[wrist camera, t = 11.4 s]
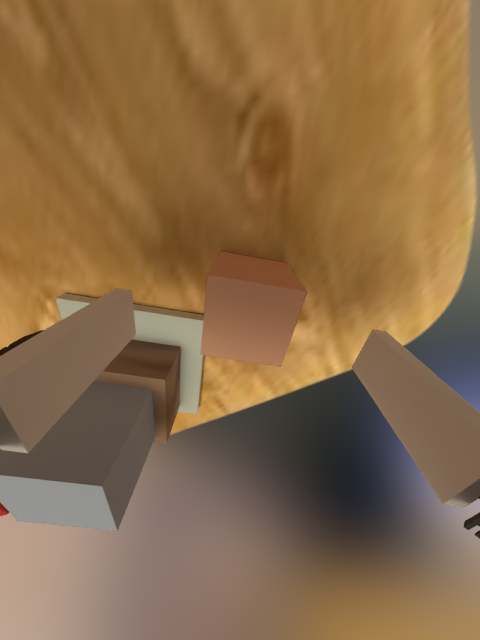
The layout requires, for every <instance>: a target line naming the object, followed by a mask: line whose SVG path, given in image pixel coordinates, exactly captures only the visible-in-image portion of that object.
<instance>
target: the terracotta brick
mask: <svg viewBox="0 0 480 640" xmlns="http://www.w3.org/2000/svg"><path fill="white" fill-rule="evenodd" d="M306 294H307V291H306V289H305V288H304V286H303V285H302V284H301V282H300V281H299V279H298V278H297V277H296V275H295V274H294V272H293V271H292V270H291V268H290V267H289V265H288V264H287V263H284V262H278V261H273V260H267V259H261V258H256V257H250V256H244V255H239V254H233V253H228V252H222V251H221V252H220V254H219V256H218V258H217V259H216V261H215V263H214V264H213V266H212V268H211V269H210V271H209V273H208V274H207V285H206V296H205V307H204V318H203V329H202V340H201V351H200V355H205V356H211V357H218V358H225V359H231V360H238V361H245V362H251V363H258V364H265V365H271V366H278V367H281V366H282V363H283V360H284V357H285V354H286V351H287V348H288V345H289V343H290V340H291V337H292V334H293V331H294V328H295V325H296V323H297V320H298V317H299V314H300V311H301V308H302V305H303V302H304V300H305V297H306Z"/></svg>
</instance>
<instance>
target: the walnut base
mask: <svg viewBox="0 0 480 640" xmlns="http://www.w3.org/2000/svg"><path fill="white" fill-rule="evenodd" d="M180 362H181V347H180V346H173V345H166V344H159V343H153V342H146V341H139V340H132V339H131V341H130V342H129V343H128V344H127V345H126V346H125V347H124V348H123V349H122V350H121V352H120V353H119V354H118V355H117V356H116V357H115V358H114V359H113V360H112V361H111V363H110V364H109V365H108V366H107V367H106V368H105V369H104V370H103V371H102V372H101V374H100V375H99V376H98V377H97V378H96V379H95V380H94V381H93V382H98V383H106V384H113V385H120V386H127V387H135V388H142V389H149V390H152V396H153V412H154V428H155V438H154V441H153V442H160V443H167V441H168V438H169V435H170V432H171V429H172V426H173V423H174V420H175V417H176V414H177V412H178V409H179V403H180Z"/></svg>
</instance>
